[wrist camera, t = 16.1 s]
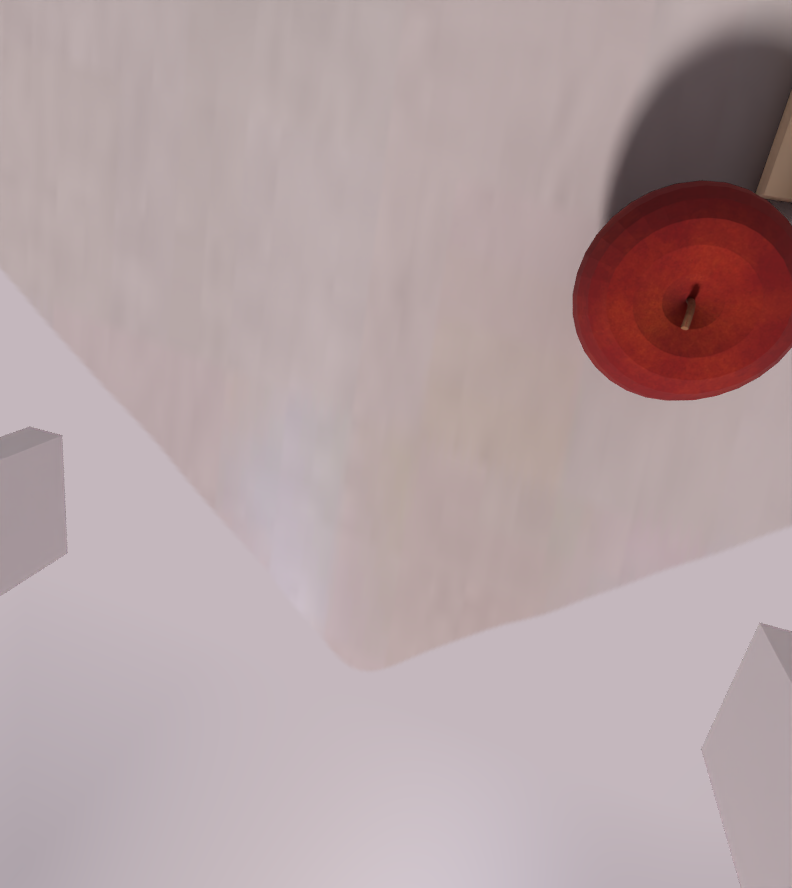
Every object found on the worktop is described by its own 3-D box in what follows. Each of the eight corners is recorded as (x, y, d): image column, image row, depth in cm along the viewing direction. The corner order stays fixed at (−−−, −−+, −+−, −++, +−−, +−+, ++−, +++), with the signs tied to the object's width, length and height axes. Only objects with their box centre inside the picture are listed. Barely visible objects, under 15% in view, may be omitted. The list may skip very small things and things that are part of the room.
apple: (600, 175, 31) (619, 148, 22) (792, 212, 30) (897, 201, 21) (548, 349, 35) (545, 387, 26) (718, 391, 33) (779, 448, 24)
